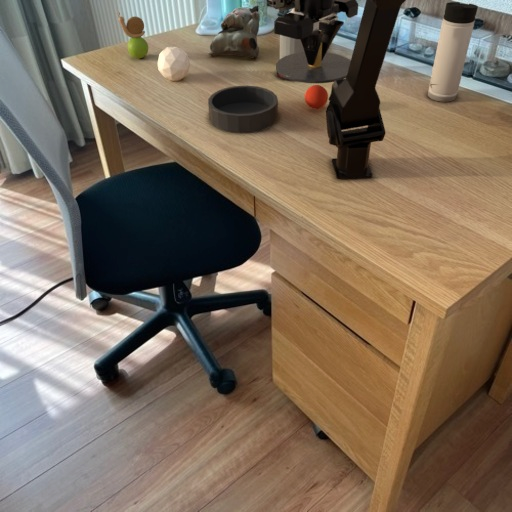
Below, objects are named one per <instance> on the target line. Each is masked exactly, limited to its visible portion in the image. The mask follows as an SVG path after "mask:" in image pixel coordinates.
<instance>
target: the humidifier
mask: <svg viewBox="0 0 512 512" xmlns="http://www.w3.org/2000/svg"><path fill="white" fill-rule="evenodd" d="M288 13H295V14H299V15H304V14H303V12H295V8H293V9H291V11H289V12H288ZM300 52H304V48H303V45H302V42H301V40H300V39H294V38H290V37H286V36H282V35H279V60H280V59H281V58H283V57H285V56H288V55H291V54H295V53H300ZM276 76H277V77H278V78H279V79H281V80H283V81H289V82H294V81H293V80H289V79H287V78H284V77H282V76H281V75H280V74H278V72H277V71H276Z"/></svg>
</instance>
